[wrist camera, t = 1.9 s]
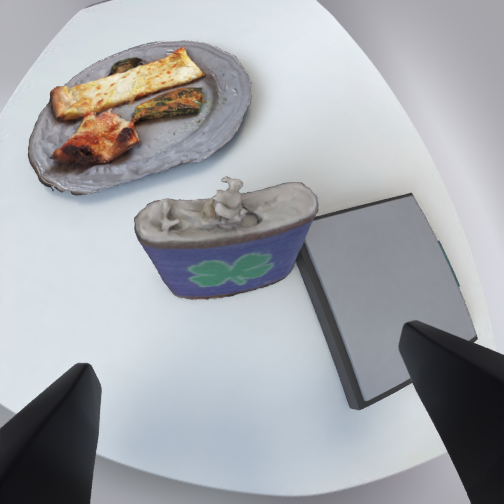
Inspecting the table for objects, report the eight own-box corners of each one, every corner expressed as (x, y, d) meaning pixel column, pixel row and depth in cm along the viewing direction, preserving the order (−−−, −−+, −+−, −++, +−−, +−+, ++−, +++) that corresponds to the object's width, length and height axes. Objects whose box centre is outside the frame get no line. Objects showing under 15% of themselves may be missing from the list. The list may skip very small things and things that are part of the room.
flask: (287, 248, 23) (320, 154, 14) (296, 284, 22) (341, 207, 12) (165, 268, 22) (117, 183, 12) (170, 306, 21) (116, 243, 11)
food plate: (26, 232, 23) (6, 213, 20) (50, 92, 31) (41, 74, 28) (281, 157, 27) (286, 130, 24) (219, 44, 35) (219, 23, 32)
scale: (468, 340, 21) (485, 335, 19) (350, 408, 19) (362, 411, 17) (406, 202, 26) (417, 188, 24) (285, 234, 24) (289, 220, 22)
